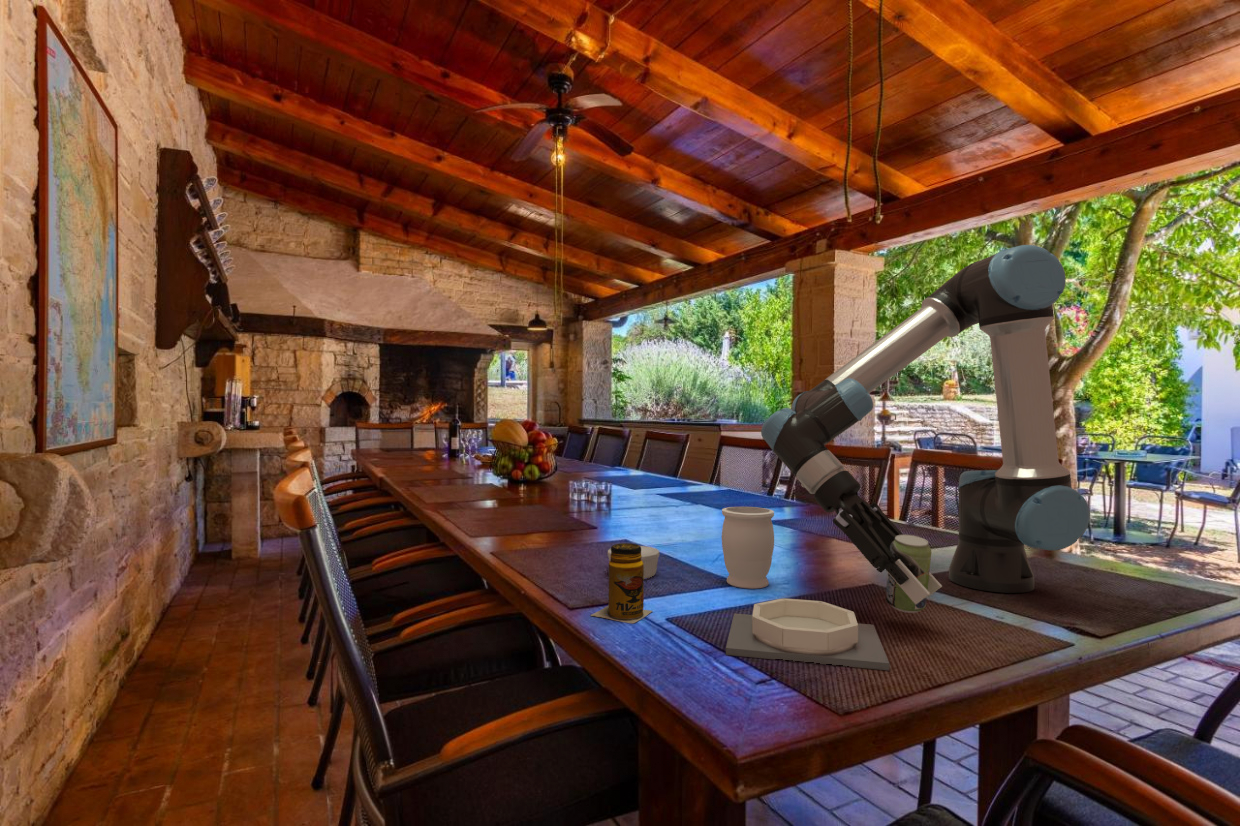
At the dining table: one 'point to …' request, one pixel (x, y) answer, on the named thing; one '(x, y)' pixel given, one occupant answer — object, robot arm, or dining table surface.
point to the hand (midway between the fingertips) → (928, 594)
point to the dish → (805, 626)
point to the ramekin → (647, 560)
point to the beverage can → (918, 562)
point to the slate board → (860, 656)
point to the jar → (747, 545)
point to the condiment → (625, 585)
